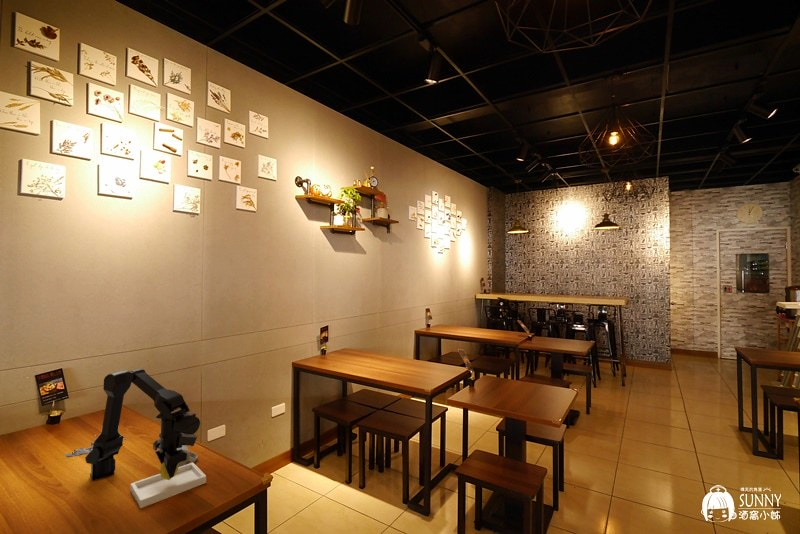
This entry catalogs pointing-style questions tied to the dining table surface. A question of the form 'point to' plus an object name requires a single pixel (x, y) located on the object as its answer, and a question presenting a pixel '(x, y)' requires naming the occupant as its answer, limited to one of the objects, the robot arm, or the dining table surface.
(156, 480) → the tray
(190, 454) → the ceramic mug
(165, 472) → the lemon
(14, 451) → the dining table surface
